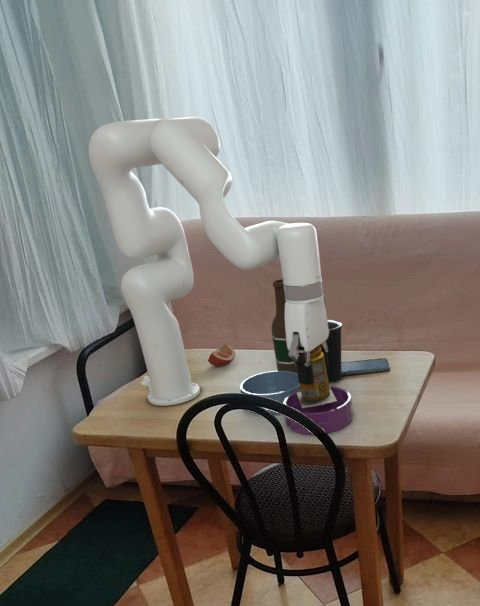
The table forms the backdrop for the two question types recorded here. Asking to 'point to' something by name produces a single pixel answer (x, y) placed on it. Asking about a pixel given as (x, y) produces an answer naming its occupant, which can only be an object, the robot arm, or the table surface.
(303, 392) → the condiment
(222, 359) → the fruit slice
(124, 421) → the table surface
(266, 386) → the slate bowl
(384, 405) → the table surface
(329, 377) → the drinking cup
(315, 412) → the plum bowl
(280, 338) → the beer bottle
